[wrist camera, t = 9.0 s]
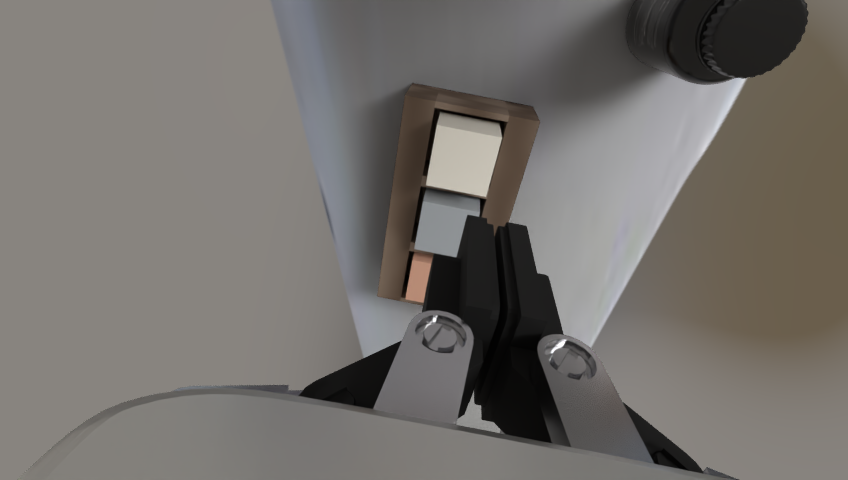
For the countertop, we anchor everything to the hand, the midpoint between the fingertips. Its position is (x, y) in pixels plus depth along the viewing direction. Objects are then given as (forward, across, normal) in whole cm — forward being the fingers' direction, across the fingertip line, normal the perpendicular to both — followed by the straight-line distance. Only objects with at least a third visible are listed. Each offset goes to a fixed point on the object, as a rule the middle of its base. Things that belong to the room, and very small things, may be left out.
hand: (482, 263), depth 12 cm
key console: (+29, 0, +12) cm, 31 cm away
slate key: (+26, 0, +12) cm, 29 cm away
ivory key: (+25, 0, +5) cm, 26 cm away
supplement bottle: (+29, -14, -7) cm, 33 cm away
